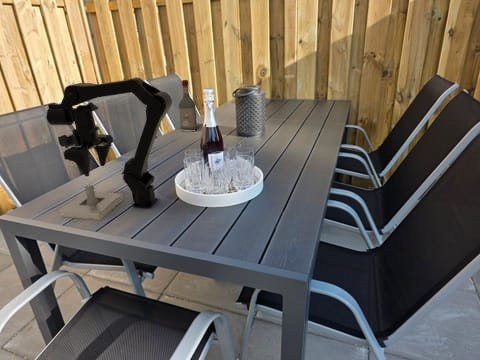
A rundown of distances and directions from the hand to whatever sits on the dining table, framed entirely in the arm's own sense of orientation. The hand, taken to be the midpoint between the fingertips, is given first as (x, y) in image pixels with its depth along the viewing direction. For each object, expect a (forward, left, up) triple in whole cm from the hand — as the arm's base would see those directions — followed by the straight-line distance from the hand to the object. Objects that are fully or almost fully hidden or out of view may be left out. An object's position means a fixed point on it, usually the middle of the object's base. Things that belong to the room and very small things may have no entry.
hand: (95, 170), depth 107 cm
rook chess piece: (+1, +4, -12) cm, 13 cm away
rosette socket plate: (+1, +4, -12) cm, 13 cm away
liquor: (+3, -98, -12) cm, 99 cm away
